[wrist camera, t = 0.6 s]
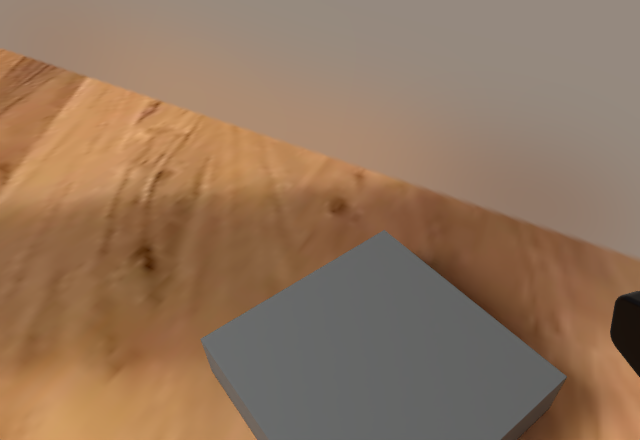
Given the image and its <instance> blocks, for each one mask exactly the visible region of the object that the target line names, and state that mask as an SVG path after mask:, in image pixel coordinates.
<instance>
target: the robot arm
mask: <svg viewBox="0 0 640 440" xmlns="http://www.w3.org/2000/svg"><path fill="white" fill-rule="evenodd" d="M610 335H611V339H612V341H613V343H614V345H615V347H616V348H617V349H618V351H619V352H620V353H621V354H622V356H623V357H624V358H625V359H626V361H627V362H628V363H629V365H630V366H631V367H632V368H633V370H634V371H635V372H636V373H637V375H638V376H639V377H640V291H636V292H632V293H628V294H625V295H622V296H620V297H618V298H617V300H616V302H615V306H614V312H613V318H612V324H611V330H610Z"/></svg>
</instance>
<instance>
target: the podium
mask: <svg viewBox="0 0 640 440" xmlns="http://www.w3.org/2000/svg"><path fill="white" fill-rule="evenodd" d="M201 342H202V345H203V347H204V350H205V353H206V356H207V359H208V361H209V364H210V367H211V370H212V372H213V373H214V375H215V376H216V378H217V379H218V381H219V382H220V384H221V385H222V387H223V388H224V390H225V392H226V393H227V395H228V396H229V398H230V399H231V401H232V402H233V404H234V405H235V407H236V408H237V410H238V411H239V413H240V414H241V416H242V417H243V419H244V420H245V422H246V423H247V425H248V426H249V428H250V429H251V431H252V432H253V434H254V435H255V437H256V438H257V440H517V439H518V438H519V437H520V436H521V435H522V434H523V433H524V432H525V431H526V430H527V429H528V428H529V427H530V426H531V425H532V424H534V423H535V422H536V421H537V420H538V419H539V418H540V417H541V416H542V415H543V414H544V413H545V412H546V411H547V410H548V409H549V408H550V406H551V404H552V402H553V401H554V399H555V397H556V395H557V394H558V392H559V390H560V388H561V387H562V385H563V383H564V381H565V379H566V378H567V376H565V375H564V374H563V373H562V372H560V371H559V370H558V369H557V368H555V367H554V366H553V365H552V364H550V363H549V362H548V361H547V360H545V359H544V358H543V357H542V356H541V355H539V354H538V353H537V352H536V351H534V350H533V349H532V348H531V347H529V346H528V345H527V344H526V343H524V342H523V341H522V340H521V339H519V338H518V337H517V336H516V335H514V334H513V333H512V332H511V331H509V330H508V329H507V328H506V327H504V326H503V325H502V324H501V323H499V322H498V321H497V320H496V319H494V318H493V317H492V316H491V315H489V314H488V313H487V312H486V311H484V310H483V309H482V308H481V307H479V306H478V305H477V304H476V303H474V302H473V301H472V300H471V299H469V298H468V297H467V296H466V295H464V294H463V293H462V292H461V291H460V290H458V289H457V288H456V287H455V286H453V285H452V284H451V283H450V282H448V281H447V280H446V279H445V278H443V277H442V276H441V275H440V274H438V273H437V272H436V271H435V270H433V269H432V268H431V267H430V266H428V265H427V264H426V263H425V262H423V261H422V260H421V259H420V258H418V257H417V256H416V255H415V254H413V253H412V252H411V251H410V250H408V249H407V248H406V247H405V246H403V245H402V244H401V243H400V242H398V241H397V240H396V239H395V238H393V237H392V236H391V235H390V234H388V233H387V232H386V231H385V230H384V231H382V232H380V233H379V234H377V235H375V236H373V237H372V238H370V239H368V240H367V241H365V242H363V243H362V244H360V245H358V246H357V247H355V248H353V249H352V250H350V251H348V252H347V253H345V254H343V255H341V256H340V257H338V258H336V259H335V260H333V261H331V262H330V263H328V264H326V265H325V266H323V267H321V268H320V269H318V270H316V271H314V272H313V273H311V274H309V275H308V276H306V277H304V278H303V279H301V280H299V281H298V282H296V283H294V284H293V285H291V286H289V287H287V288H286V289H284V290H282V291H281V292H279V293H277V294H276V295H274V296H272V297H271V298H269V299H267V300H266V301H264V302H262V303H261V304H259V305H257V306H255V307H254V308H252V309H250V310H249V311H247V312H245V313H244V314H242V315H240V316H239V317H237V318H235V319H234V320H232V321H230V322H228V323H227V324H225V325H223V326H222V327H220V328H218V329H217V330H215V331H213V332H212V333H210V334H208V335H207V336H205V337H203V338H201Z"/></svg>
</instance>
